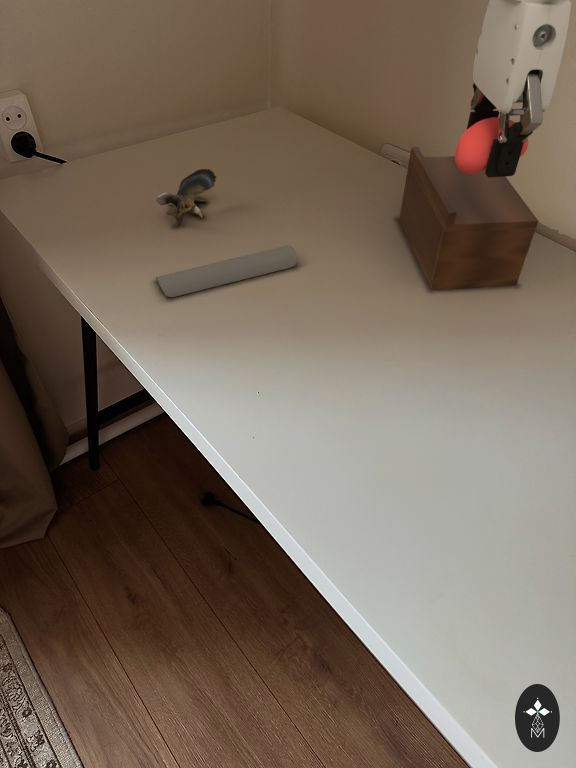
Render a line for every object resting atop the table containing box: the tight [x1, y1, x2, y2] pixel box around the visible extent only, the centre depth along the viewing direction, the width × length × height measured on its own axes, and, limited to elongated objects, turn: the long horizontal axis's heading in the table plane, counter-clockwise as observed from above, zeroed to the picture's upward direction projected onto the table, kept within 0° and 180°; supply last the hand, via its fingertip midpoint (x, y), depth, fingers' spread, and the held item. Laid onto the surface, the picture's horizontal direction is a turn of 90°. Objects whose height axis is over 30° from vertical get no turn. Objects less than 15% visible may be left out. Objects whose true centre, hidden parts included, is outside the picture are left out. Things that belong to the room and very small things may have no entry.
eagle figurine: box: [155, 168, 217, 228], centre depth 96 cm, size 8×7×9 cm
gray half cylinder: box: [155, 245, 298, 298], centre depth 86 cm, size 4×20×2 cm, turn 115°
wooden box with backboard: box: [398, 146, 539, 291], centre depth 88 cm, size 12×18×12 cm, turn 7°
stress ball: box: [454, 116, 529, 174], centre depth 70 cm, size 5×9×6 cm, turn 112°
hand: (488, 159), depth 71 cm, fingers closed on stress ball, 6 cm apart
